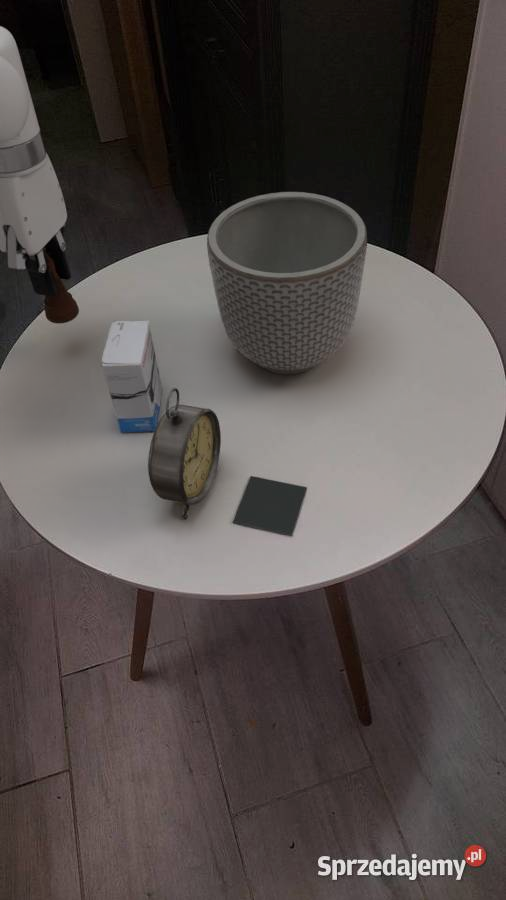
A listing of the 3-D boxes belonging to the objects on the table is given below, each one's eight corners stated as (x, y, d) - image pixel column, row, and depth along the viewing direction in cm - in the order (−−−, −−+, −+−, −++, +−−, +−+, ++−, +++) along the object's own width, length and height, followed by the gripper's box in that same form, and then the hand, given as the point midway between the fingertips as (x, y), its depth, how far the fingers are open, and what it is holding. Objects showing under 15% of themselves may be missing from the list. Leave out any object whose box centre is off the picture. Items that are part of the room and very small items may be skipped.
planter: (382, 375, 93) (397, 253, 79) (247, 416, 90) (236, 296, 75) (324, 295, 106) (327, 177, 91) (202, 328, 102) (186, 211, 88)
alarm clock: (194, 530, 78) (173, 434, 66) (151, 519, 79) (123, 423, 67) (227, 460, 85) (214, 361, 72) (187, 451, 86) (167, 352, 74)
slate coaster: (232, 523, 78) (232, 521, 78) (250, 477, 83) (250, 475, 82) (291, 536, 77) (291, 534, 77) (307, 488, 81) (307, 487, 81)
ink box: (157, 432, 88) (141, 364, 80) (119, 433, 89) (99, 365, 80) (163, 387, 94) (149, 318, 85) (128, 388, 94) (110, 319, 85)
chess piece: (55, 328, 94) (34, 264, 86) (39, 311, 96) (17, 248, 89) (85, 314, 95) (67, 251, 88) (68, 298, 98) (49, 235, 91)
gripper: (19, 119, 85) (57, 250, 99) (-58, 181, 75) (-3, 318, 88) (73, 123, 83) (104, 256, 97) (2, 187, 73) (49, 326, 86)
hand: (53, 284), depth 92 cm, fingers closed on chess piece, 3 cm apart
